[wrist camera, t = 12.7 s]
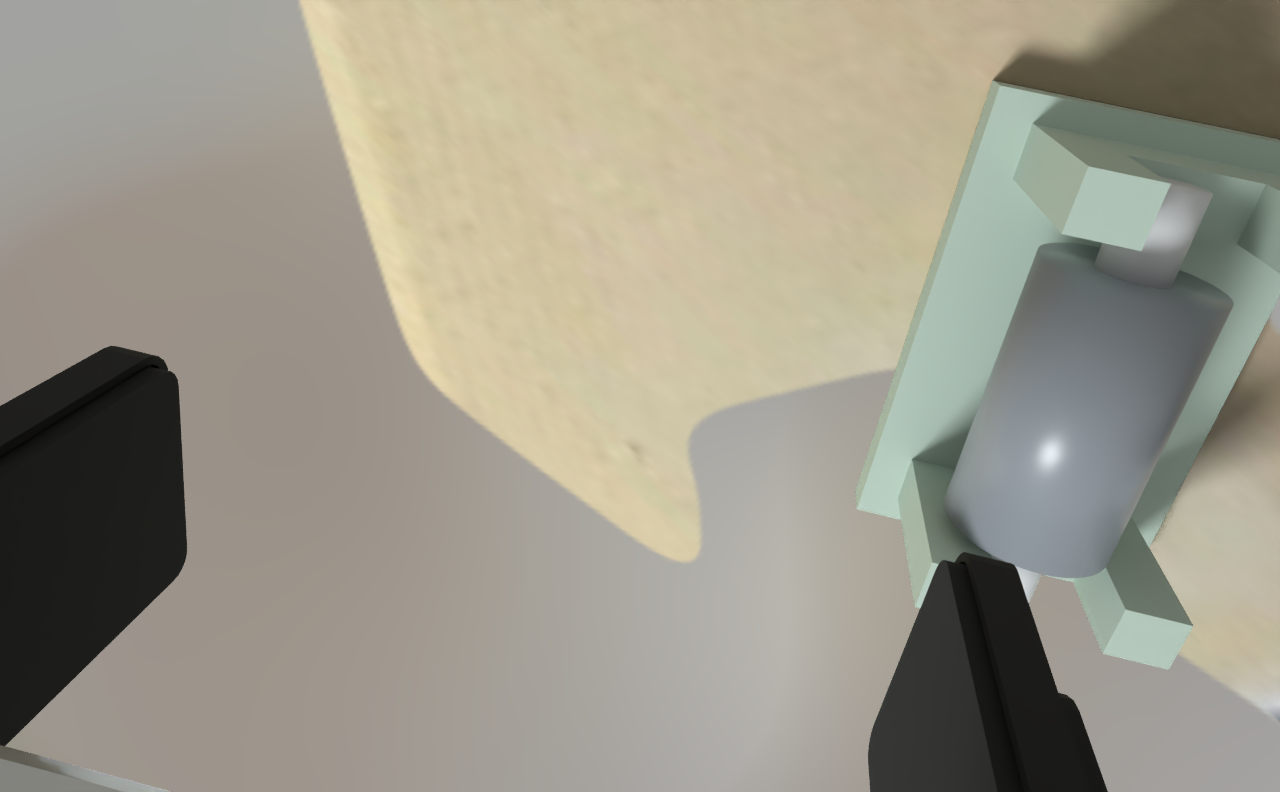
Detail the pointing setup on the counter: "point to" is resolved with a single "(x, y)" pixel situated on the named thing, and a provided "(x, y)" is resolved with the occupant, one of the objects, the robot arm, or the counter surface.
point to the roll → (1086, 396)
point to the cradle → (992, 284)
